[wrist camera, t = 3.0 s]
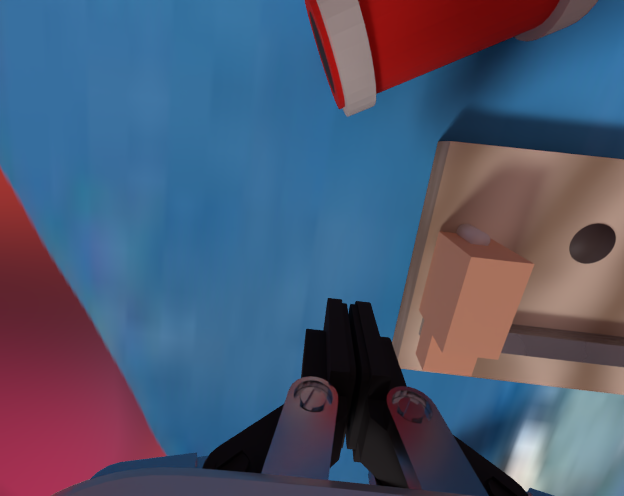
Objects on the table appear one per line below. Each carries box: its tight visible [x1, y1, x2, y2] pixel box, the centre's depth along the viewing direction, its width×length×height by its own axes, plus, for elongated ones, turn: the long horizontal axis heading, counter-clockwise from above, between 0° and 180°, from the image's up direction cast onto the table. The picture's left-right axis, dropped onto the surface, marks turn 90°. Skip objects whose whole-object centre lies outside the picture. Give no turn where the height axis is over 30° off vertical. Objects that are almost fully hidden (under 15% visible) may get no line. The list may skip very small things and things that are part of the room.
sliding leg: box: [415, 223, 534, 376], centre depth 17 cm, size 3×9×4 cm, turn 174°
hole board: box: [392, 141, 624, 395], centre depth 20 cm, size 28×16×2 cm, turn 84°
